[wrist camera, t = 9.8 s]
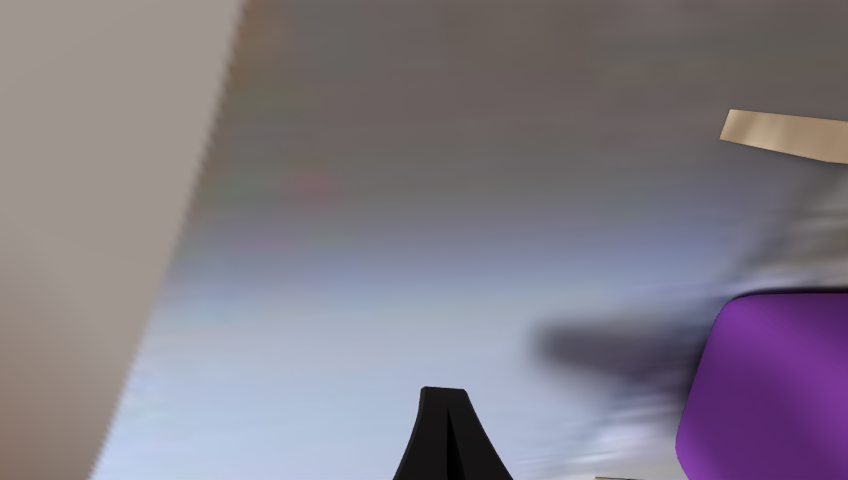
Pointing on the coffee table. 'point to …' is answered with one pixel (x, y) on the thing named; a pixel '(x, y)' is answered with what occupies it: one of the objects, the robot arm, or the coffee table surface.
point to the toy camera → (770, 392)
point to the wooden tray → (787, 137)
